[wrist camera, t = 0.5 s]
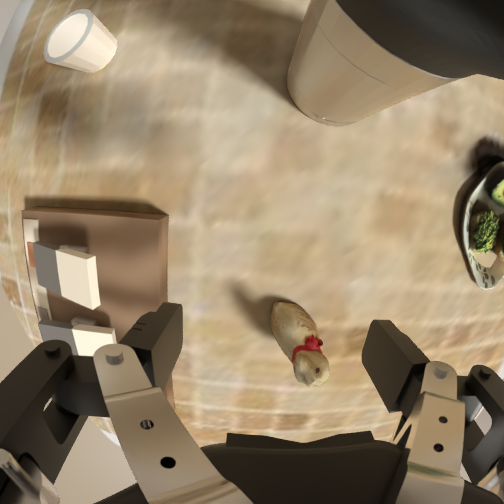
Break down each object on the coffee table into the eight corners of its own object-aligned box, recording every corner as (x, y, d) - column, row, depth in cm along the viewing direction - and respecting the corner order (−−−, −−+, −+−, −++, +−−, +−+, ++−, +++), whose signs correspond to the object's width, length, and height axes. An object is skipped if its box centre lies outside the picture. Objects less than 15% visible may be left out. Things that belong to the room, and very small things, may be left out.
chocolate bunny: (276, 356, 32) (281, 417, 22) (267, 302, 30) (270, 359, 20) (320, 349, 32) (338, 407, 22) (316, 294, 29) (339, 347, 20)
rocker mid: (43, 315, 25) (37, 322, 23) (115, 325, 27) (111, 333, 25) (53, 350, 26) (48, 357, 25) (121, 360, 28) (118, 369, 27)
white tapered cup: (119, 68, 22) (87, 48, 16) (73, 84, 23) (38, 72, 16) (124, 23, 21) (98, -1, 14) (79, 41, 21) (49, 23, 14)
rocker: (43, 238, 24) (32, 241, 23) (98, 253, 22) (86, 258, 21) (48, 280, 26) (38, 285, 24) (103, 303, 24) (92, 310, 22)
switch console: (36, 206, 27) (13, 212, 23) (168, 215, 27) (152, 223, 23) (69, 377, 35) (56, 393, 31) (175, 408, 36) (168, 429, 31)
